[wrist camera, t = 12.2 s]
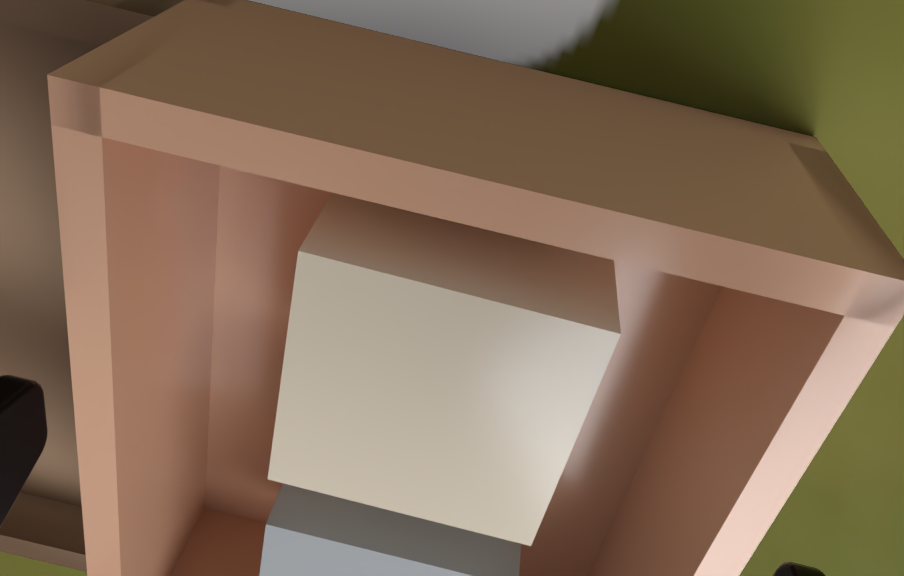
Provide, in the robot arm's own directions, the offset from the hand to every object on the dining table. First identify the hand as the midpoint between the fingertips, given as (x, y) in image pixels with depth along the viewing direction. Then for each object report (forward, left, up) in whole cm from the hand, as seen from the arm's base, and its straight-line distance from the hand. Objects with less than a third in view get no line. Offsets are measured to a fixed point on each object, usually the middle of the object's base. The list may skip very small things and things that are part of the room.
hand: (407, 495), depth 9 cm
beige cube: (0, 0, -5) cm, 5 cm away
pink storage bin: (-2, 0, -6) cm, 6 cm away
